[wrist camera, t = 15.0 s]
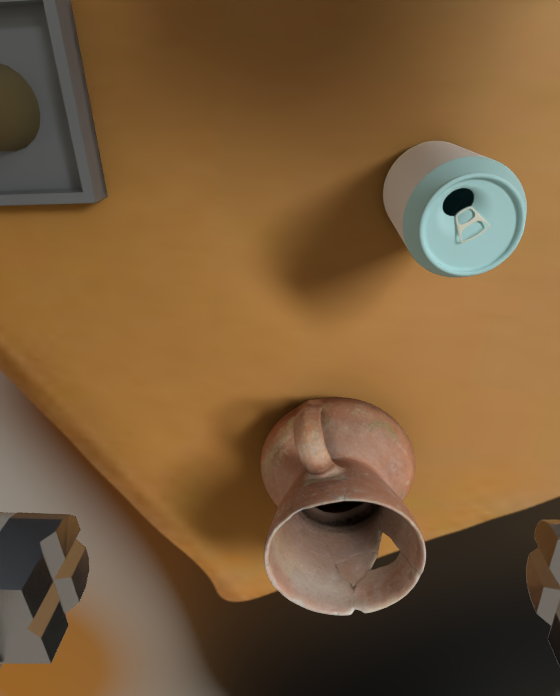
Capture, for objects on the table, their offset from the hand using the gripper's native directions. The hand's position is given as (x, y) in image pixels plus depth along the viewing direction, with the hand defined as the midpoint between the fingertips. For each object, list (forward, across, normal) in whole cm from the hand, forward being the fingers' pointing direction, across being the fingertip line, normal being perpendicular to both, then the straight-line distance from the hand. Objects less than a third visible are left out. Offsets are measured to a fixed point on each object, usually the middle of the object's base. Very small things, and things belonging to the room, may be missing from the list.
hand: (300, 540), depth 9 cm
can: (+34, -9, 0) cm, 35 cm away
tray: (+34, +23, -7) cm, 42 cm away
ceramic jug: (+34, -2, +24) cm, 42 cm away
